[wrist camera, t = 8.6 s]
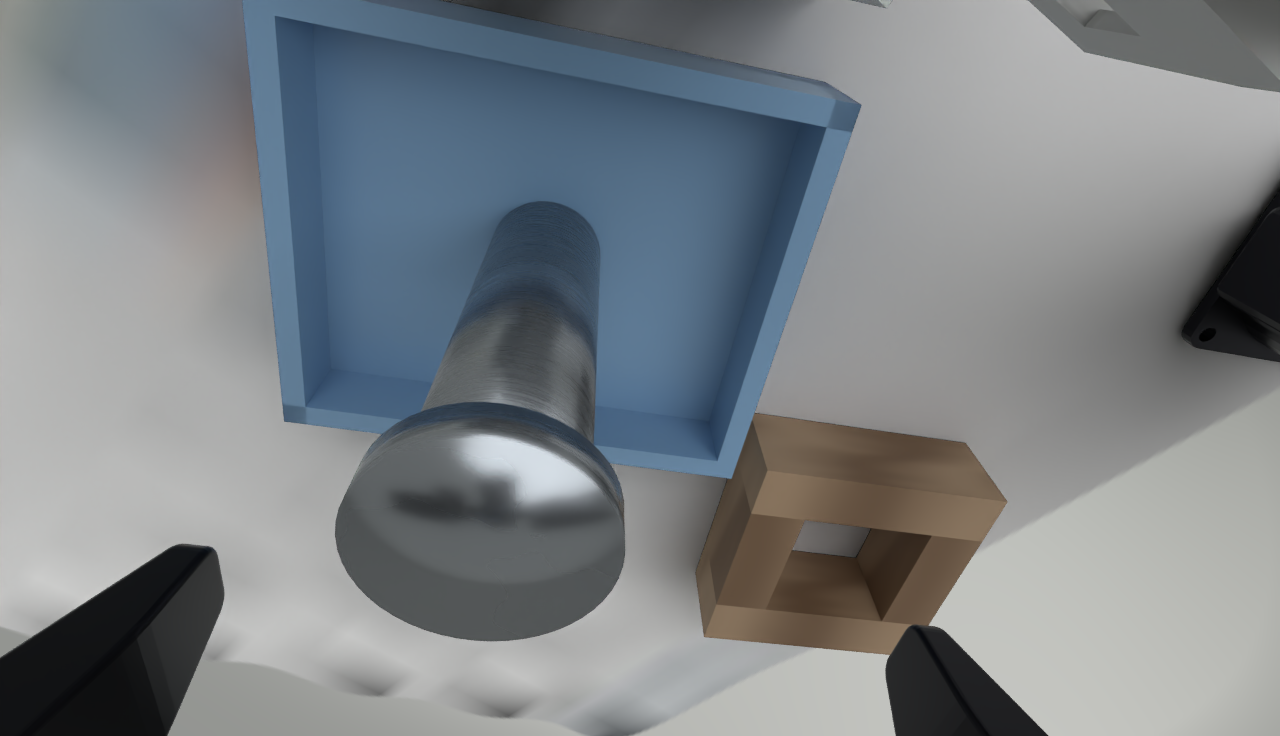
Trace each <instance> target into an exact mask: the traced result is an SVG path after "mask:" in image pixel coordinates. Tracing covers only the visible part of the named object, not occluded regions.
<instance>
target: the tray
mask: <svg viewBox="0 0 1280 736" xmlns="http://www.w3.org/2000/svg"><path fill="white" fill-rule="evenodd" d="M242 4H243V14H244V24H245V34H246V44H247V54H248V64H249V74H250V84H251V94H252V104H253V114H254V124H255V134H256V144H257V154H258V164H259V174H260V184H261V194H262V204H263V214H264V224H265V234H266V244H267V254H268V264H269V274H270V284H271V294H272V304H273V314H274V324H275V334H276V344H277V354H278V364H279V374H280V384H281V394H282V404H283V414H284V421H285V422H293V423H300V424H308V425H316V426H324V427H332V428H339V429H347V430H355V431H363V432H371V433H378V434H383V433H384V432H385V431H387V430H388V429H389V428H391V427H392V426H393V425H395V424H396V423H398V422H400V421H402V420H404V419H406V418H407V417H409V416H411V415H414V414H416V413H419V412H421V410H422V407H423V405H424V403H425V400H426V398H427V395H428V393H429V390H430V388H431V385H432V383H433V381H434V378H435V376H436V373H437V371H438V368H439V366H440V364H441V361H442V359H443V356H444V354H445V351H446V349H447V347H448V344H449V342H450V339H451V337H452V334H453V332H454V329H455V327H456V325H457V322H458V320H459V317H460V315H461V312H462V310H463V308H464V305H465V303H466V300H467V298H468V295H469V293H470V291H471V288H472V286H473V283H474V281H475V278H476V276H477V273H478V271H479V269H480V266H481V264H482V261H483V259H484V256H485V254H486V252H487V249H488V247H489V244H490V242H491V239H492V237H493V235H494V232H495V230H496V228H497V226H498V224H499V223H500V221H501V220H502V219H503V218H504V217H505V216H506V215H507V214H508V213H509V212H510V211H512V210H513V209H515V208H517V207H519V206H521V205H523V204H527V203H530V202H536V201H549V202H555V203H559V204H562V205H565V206H568V207H569V208H571V209H573V210H575V211H576V212H578V213H579V214H580V215H582V216H583V217H584V218H585V219H586V220H587V221H588V223H589V224H590V225H591V227H592V228H593V230H594V231H595V234H596V236H597V238H598V241H599V245H600V254H601V259H600V287H599V315H598V342H597V370H596V397H595V425H594V446H595V447H596V448H598V449H599V450H600V452H601V453H602V454H603V455H604V457H605V458H606V459H607V460H608V462H609V463H612V464H620V465H628V466H636V467H643V468H651V469H659V470H667V471H675V472H682V473H690V474H698V475H706V476H714V477H721V478H729V479H732V476H733V473H734V470H735V467H736V464H737V461H738V459H739V456H740V453H741V450H742V447H743V444H744V441H745V438H746V436H747V433H748V430H749V427H750V424H751V421H752V418H753V415H754V413H755V410H756V407H757V404H758V401H759V398H760V395H761V392H762V390H763V387H764V384H765V381H766V378H767V375H768V372H769V369H770V367H771V364H772V361H773V358H774V355H775V352H776V349H777V346H778V344H779V341H780V338H781V335H782V332H783V329H784V326H785V323H786V321H787V318H788V315H789V312H790V309H791V306H792V303H793V300H794V298H795V295H796V292H797V289H798V286H799V283H800V280H801V277H802V275H803V272H804V269H805V266H806V263H807V260H808V257H809V254H810V252H811V249H812V246H813V243H814V240H815V237H816V234H817V232H818V229H819V226H820V223H821V220H822V217H823V214H824V211H825V209H826V206H827V203H828V200H829V197H830V194H831V191H832V188H833V186H834V183H835V180H836V177H837V174H838V171H839V168H840V165H841V163H842V160H843V157H844V154H845V151H846V148H847V145H848V142H849V140H850V137H851V134H852V131H853V128H854V125H855V122H856V119H857V117H858V114H859V111H860V108H861V104H859V103H857V102H856V101H854V100H853V99H851V98H850V97H848V96H846V95H845V94H843V93H842V92H840V91H839V90H837V89H835V88H834V87H832V86H831V85H829V84H828V83H826V82H823V81H818V80H813V79H809V78H804V77H799V76H794V75H790V74H785V73H780V72H775V71H771V70H766V69H761V68H757V67H752V66H747V65H742V64H738V63H733V62H728V61H724V60H719V59H714V58H709V57H705V56H700V55H695V54H690V53H686V52H681V51H676V50H672V49H667V48H662V47H657V46H653V45H648V44H643V43H639V42H634V41H629V40H624V39H620V38H615V37H610V36H605V35H601V34H596V33H591V32H587V31H582V30H577V29H572V28H568V27H563V26H558V25H554V24H549V23H544V22H539V21H535V20H530V19H525V18H520V17H516V16H511V15H506V14H502V13H497V12H492V11H487V10H483V9H478V8H473V7H469V6H464V5H459V4H454V3H450V2H445V1H440V0H242Z"/></svg>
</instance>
